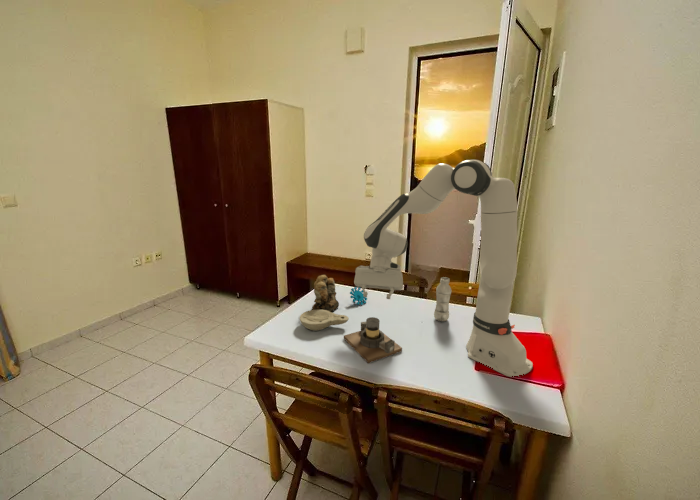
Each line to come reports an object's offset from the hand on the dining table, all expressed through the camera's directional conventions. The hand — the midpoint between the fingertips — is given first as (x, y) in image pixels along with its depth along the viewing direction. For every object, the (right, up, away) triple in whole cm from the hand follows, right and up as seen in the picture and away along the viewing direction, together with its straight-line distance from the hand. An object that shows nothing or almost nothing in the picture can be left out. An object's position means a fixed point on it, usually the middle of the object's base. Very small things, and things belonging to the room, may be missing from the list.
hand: (376, 297), depth 123 cm
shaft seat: (-2, -18, -5) cm, 18 cm away
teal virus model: (-6, -8, +32) cm, 34 cm away
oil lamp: (-22, -14, +9) cm, 27 cm away
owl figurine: (-23, -9, +26) cm, 36 cm away
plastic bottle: (+31, -13, +15) cm, 37 cm away
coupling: (-2, -16, -5) cm, 17 cm away
